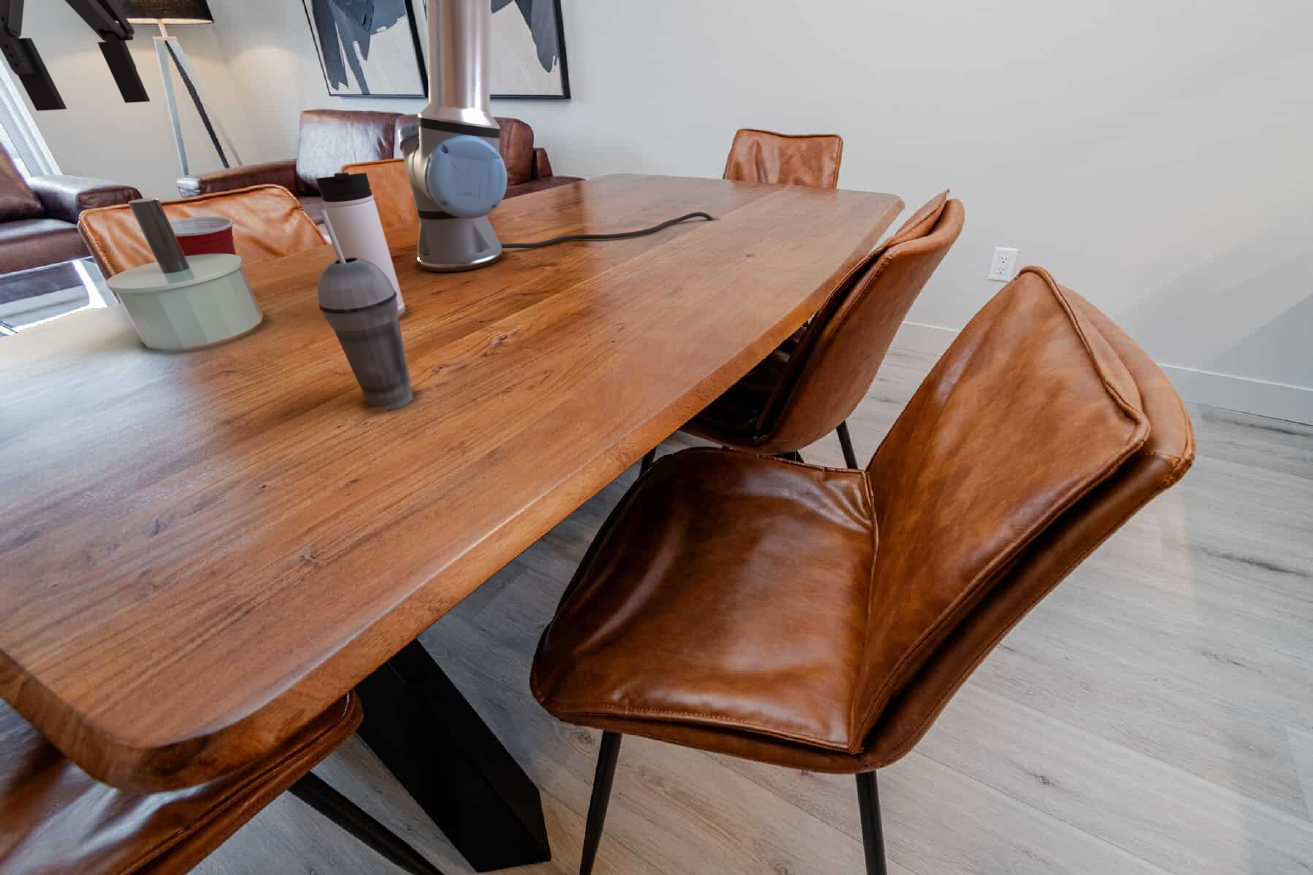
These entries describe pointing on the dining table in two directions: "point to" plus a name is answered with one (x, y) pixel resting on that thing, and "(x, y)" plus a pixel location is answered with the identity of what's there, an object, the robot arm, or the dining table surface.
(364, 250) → the travel mug
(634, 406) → the dining table surface
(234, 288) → the bowl
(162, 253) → the lid
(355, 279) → the beverage cup
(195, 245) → the plastic cup
